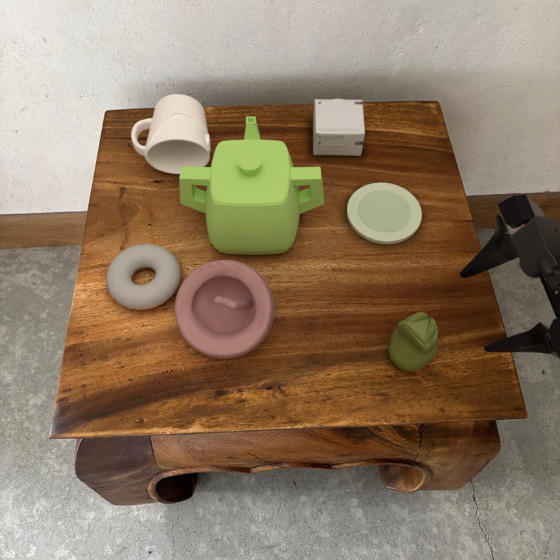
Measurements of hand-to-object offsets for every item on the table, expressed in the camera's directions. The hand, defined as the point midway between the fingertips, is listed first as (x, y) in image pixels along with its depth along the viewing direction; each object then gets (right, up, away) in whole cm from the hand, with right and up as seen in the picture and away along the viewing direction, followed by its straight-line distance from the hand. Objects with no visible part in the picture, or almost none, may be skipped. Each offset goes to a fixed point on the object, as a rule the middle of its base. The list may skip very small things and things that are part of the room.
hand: (472, 311), depth 60 cm
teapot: (-25, +14, +22) cm, 36 cm away
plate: (-6, +13, +21) cm, 26 cm away
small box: (-12, +26, +30) cm, 41 cm away
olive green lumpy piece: (-5, -7, +10) cm, 13 cm away
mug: (-38, +24, +28) cm, 53 cm away
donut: (-40, +3, +16) cm, 43 cm away
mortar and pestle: (-28, -3, +12) cm, 30 cm away
